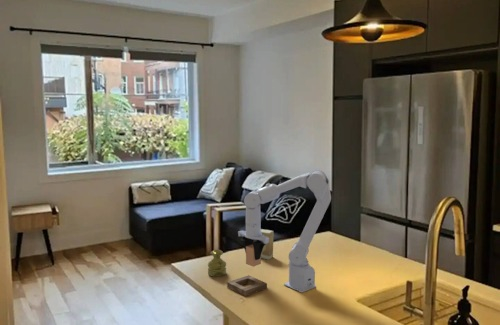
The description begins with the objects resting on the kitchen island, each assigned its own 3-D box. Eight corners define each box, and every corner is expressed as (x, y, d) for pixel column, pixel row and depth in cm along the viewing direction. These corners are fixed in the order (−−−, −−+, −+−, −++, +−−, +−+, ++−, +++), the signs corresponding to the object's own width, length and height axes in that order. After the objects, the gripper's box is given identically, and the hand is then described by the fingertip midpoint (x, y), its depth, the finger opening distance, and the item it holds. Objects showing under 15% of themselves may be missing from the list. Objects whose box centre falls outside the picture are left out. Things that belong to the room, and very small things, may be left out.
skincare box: (256, 257, 197) (256, 231, 196) (260, 254, 201) (260, 228, 200) (269, 259, 195) (269, 232, 193) (273, 257, 198) (273, 230, 197)
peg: (260, 263, 169) (260, 246, 169) (253, 266, 167) (253, 248, 166) (253, 261, 172) (253, 244, 171) (246, 264, 169) (246, 246, 169)
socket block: (267, 288, 163) (267, 283, 163) (245, 296, 157) (245, 290, 156) (248, 280, 171) (248, 275, 171) (227, 287, 165) (227, 282, 164)
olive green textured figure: (218, 278, 173) (217, 253, 172) (204, 274, 178) (203, 250, 177) (230, 272, 179) (229, 249, 178) (216, 269, 184) (215, 245, 182)
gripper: (274, 224, 165) (274, 259, 167) (247, 218, 175) (247, 251, 177) (261, 228, 160) (261, 264, 162) (234, 221, 170) (234, 255, 172)
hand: (253, 257), depth 169 cm, fingers closed on peg, 4 cm apart
